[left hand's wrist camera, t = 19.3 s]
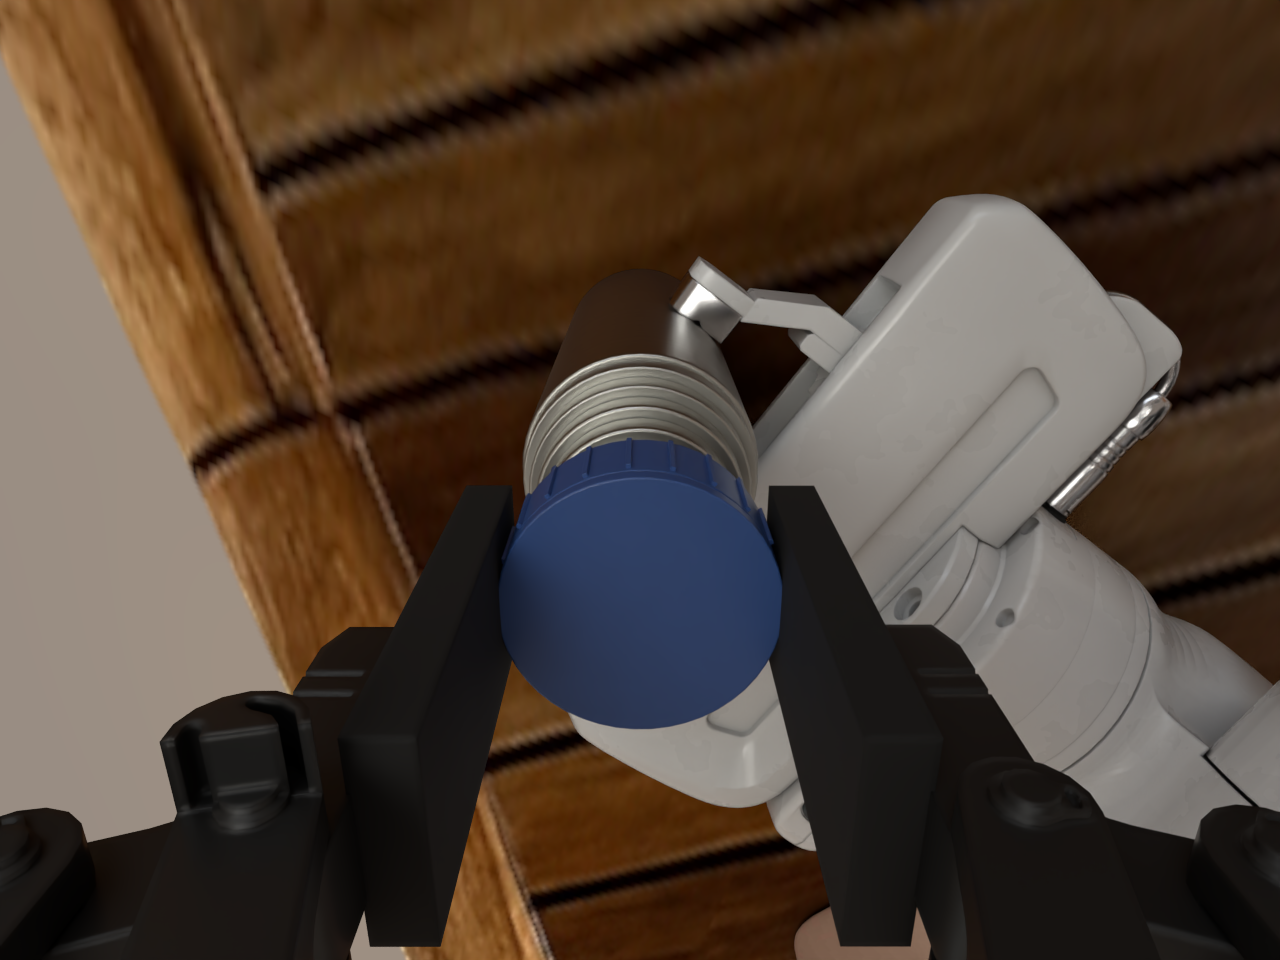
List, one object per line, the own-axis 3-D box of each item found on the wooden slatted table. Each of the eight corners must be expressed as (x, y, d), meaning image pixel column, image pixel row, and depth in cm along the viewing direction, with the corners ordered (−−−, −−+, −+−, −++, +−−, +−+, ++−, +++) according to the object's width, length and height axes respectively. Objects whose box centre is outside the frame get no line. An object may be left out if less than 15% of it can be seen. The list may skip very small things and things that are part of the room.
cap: (609, 711, 16) (605, 777, 14) (455, 529, 14) (431, 578, 13) (819, 589, 15) (841, 644, 13) (676, 383, 13) (681, 415, 12)
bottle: (738, 355, 31) (864, 619, 14) (626, 435, 32) (609, 774, 15) (655, 238, 30) (676, 367, 12) (540, 326, 31) (410, 560, 13)
